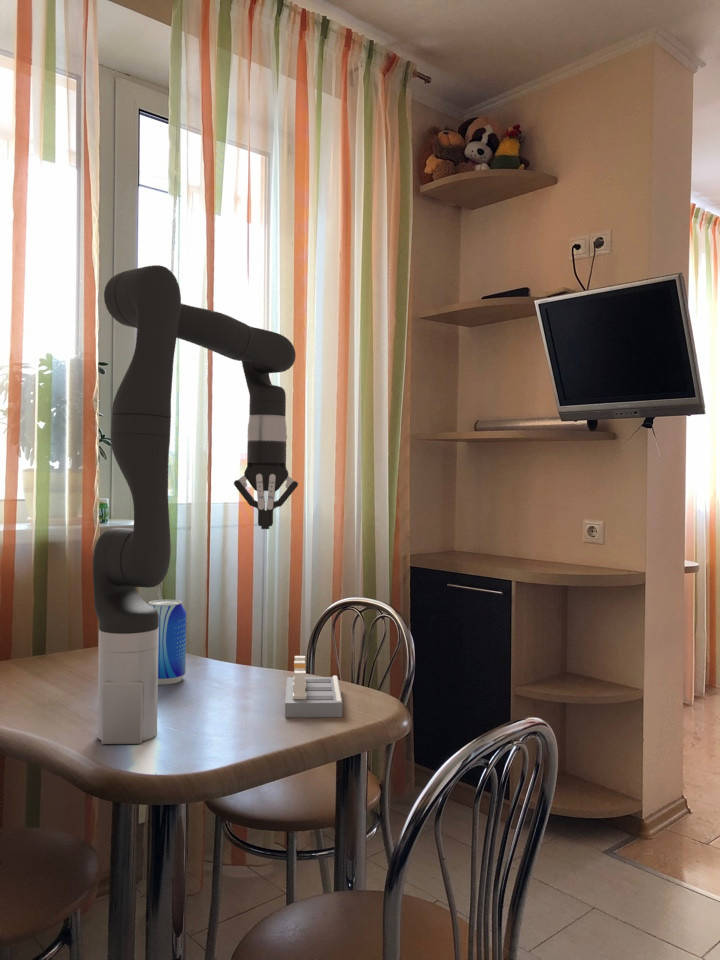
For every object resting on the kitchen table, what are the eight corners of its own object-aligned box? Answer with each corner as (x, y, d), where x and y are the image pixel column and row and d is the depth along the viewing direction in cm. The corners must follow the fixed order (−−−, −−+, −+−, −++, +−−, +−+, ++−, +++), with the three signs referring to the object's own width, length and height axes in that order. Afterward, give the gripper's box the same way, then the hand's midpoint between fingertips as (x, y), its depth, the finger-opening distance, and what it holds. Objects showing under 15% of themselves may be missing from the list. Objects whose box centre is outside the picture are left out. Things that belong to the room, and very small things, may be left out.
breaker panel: (342, 716, 141) (342, 675, 141) (284, 717, 141) (285, 676, 141) (337, 689, 159) (338, 653, 159) (286, 690, 159) (287, 653, 158)
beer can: (179, 686, 160) (180, 605, 160) (137, 685, 161) (138, 604, 160) (189, 675, 169) (190, 599, 169) (149, 674, 169) (150, 598, 169)
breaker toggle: (305, 688, 149) (306, 663, 149) (292, 688, 149) (293, 663, 149) (305, 685, 151) (306, 660, 151) (292, 685, 151) (293, 660, 151)
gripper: (230, 438, 153) (229, 529, 153) (300, 439, 153) (299, 530, 153) (234, 440, 160) (233, 527, 160) (301, 441, 161) (299, 528, 161)
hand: (265, 528), depth 157 cm, fingers closed
